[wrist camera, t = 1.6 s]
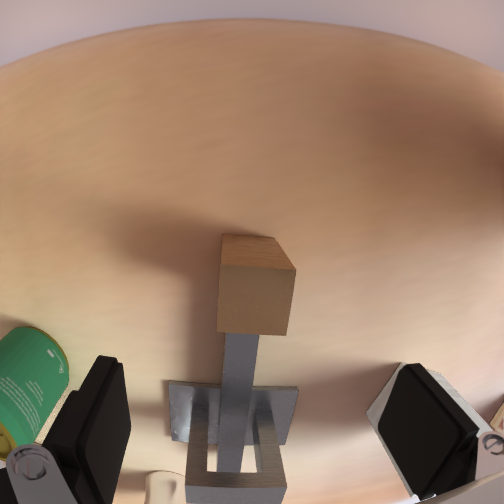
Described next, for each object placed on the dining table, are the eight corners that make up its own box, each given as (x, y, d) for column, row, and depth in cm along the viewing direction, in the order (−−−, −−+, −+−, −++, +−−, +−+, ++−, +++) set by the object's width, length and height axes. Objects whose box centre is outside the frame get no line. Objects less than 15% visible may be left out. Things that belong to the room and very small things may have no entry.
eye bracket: (297, 386, 29) (323, 466, 19) (284, 441, 31) (300, 515, 21) (169, 380, 28) (151, 462, 18) (172, 436, 30) (161, 512, 20)
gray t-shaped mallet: (274, 238, 25) (296, 269, 17) (245, 452, 31) (251, 509, 23) (222, 234, 25) (221, 264, 17) (209, 450, 30) (208, 508, 23)
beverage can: (-1, 326, 25) (-67, 386, 14) (53, 318, 25) (-17, 392, 14) (30, 389, 27) (-18, 459, 16) (85, 387, 27) (41, 472, 16)
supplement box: (362, 413, 31) (407, 499, 19) (400, 360, 29) (465, 440, 17) (407, 420, 32) (453, 492, 20) (442, 372, 31) (503, 439, 18)
